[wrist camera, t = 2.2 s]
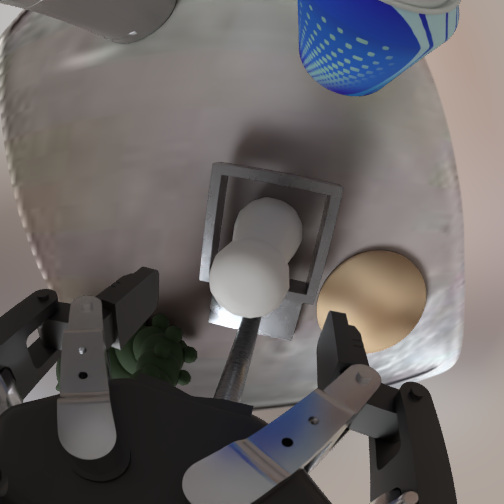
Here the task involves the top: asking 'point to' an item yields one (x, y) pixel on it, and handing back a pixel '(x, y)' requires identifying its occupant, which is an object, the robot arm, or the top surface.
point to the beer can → (369, 39)
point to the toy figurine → (151, 354)
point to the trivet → (375, 297)
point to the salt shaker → (257, 259)
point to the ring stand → (299, 292)
